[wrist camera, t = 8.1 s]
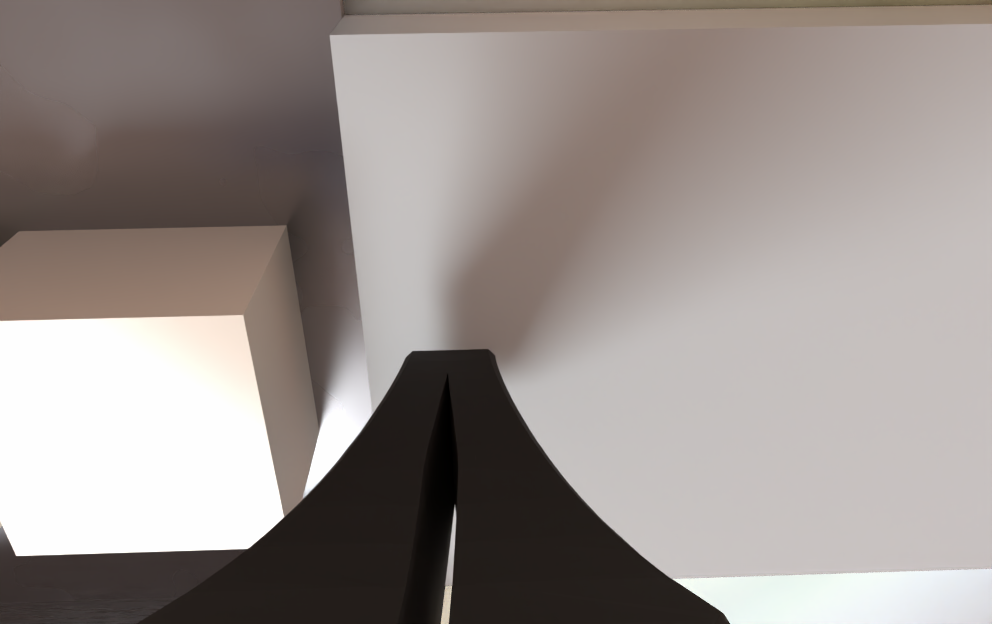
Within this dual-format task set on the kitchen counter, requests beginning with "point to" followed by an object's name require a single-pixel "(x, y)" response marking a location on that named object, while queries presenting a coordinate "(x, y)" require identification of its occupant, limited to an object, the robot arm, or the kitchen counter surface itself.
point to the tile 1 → (151, 389)
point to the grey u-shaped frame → (180, 206)
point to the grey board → (700, 263)
